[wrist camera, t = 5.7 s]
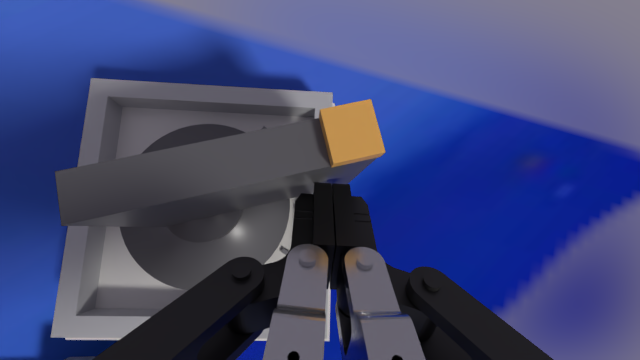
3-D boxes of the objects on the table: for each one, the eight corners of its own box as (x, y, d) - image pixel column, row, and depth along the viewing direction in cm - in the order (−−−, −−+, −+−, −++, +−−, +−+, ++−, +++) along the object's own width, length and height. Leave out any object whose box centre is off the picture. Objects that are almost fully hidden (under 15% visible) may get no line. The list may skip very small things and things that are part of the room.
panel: (84, 330, 18) (41, 350, 15) (116, 100, 20) (85, 77, 17) (326, 332, 19) (332, 351, 16) (331, 112, 21) (337, 93, 18)
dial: (141, 306, 17) (-51, 402, 7) (117, 146, 18) (-73, 59, 9) (356, 251, 18) (419, 275, 9) (320, 106, 19) (342, -7, 10)
